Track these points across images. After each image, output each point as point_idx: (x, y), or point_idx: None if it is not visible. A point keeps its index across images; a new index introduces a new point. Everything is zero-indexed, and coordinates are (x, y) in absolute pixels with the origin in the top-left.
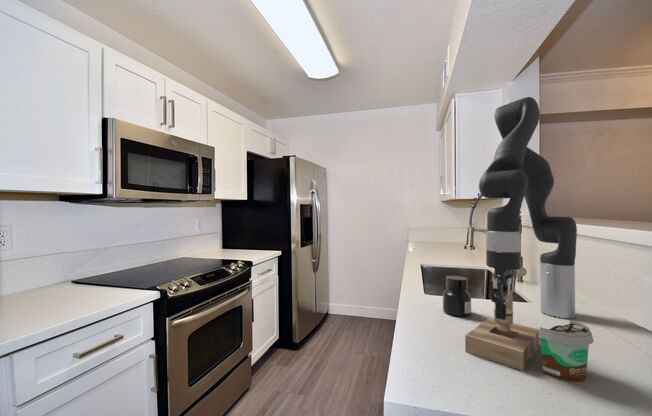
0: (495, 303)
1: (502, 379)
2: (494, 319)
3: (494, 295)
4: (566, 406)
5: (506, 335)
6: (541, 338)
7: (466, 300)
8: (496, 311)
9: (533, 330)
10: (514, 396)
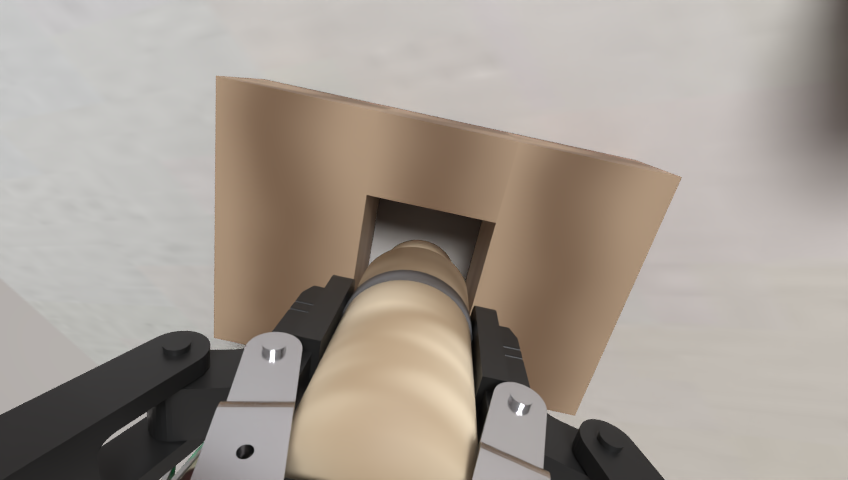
0: (291, 335)
1: (137, 239)
2: (399, 249)
3: (153, 402)
4: None
5: (477, 263)
6: (195, 452)
7: None
8: (290, 307)
9: (542, 389)
10: (64, 272)
